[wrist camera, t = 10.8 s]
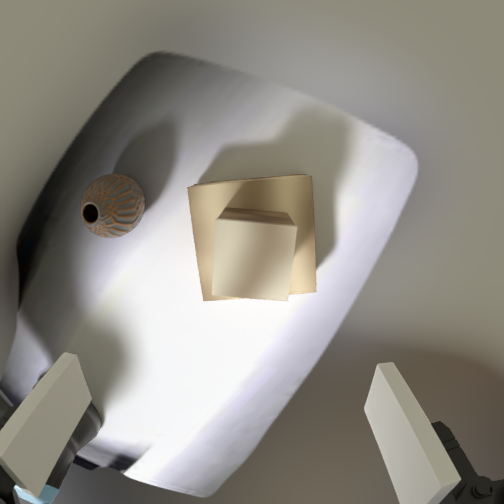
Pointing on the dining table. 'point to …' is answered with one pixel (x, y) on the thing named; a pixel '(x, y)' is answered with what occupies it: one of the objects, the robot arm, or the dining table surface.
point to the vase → (112, 205)
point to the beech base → (258, 198)
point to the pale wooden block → (253, 254)
